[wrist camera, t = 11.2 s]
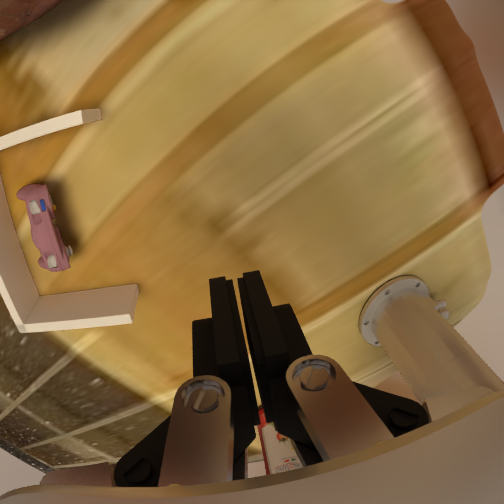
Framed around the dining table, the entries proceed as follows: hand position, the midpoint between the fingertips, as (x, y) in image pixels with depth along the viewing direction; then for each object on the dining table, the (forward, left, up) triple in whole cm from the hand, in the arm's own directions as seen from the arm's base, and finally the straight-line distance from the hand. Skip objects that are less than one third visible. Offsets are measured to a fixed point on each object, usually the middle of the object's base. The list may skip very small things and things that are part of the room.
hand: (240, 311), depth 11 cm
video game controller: (+19, +3, -24) cm, 31 cm away
